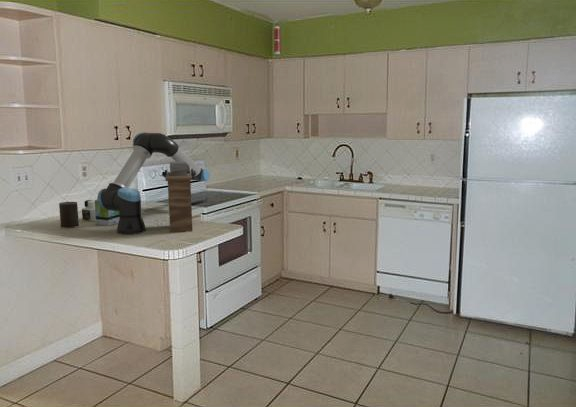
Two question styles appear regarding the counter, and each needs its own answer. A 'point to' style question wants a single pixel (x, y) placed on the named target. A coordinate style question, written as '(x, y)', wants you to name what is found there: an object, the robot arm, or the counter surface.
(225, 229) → the counter surface
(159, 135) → the robot arm
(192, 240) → the counter surface
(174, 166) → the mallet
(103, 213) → the tea box
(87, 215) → the medicine bottle
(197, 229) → the counter surface
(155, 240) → the counter surface
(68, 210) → the pillar candle
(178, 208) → the pedestal
